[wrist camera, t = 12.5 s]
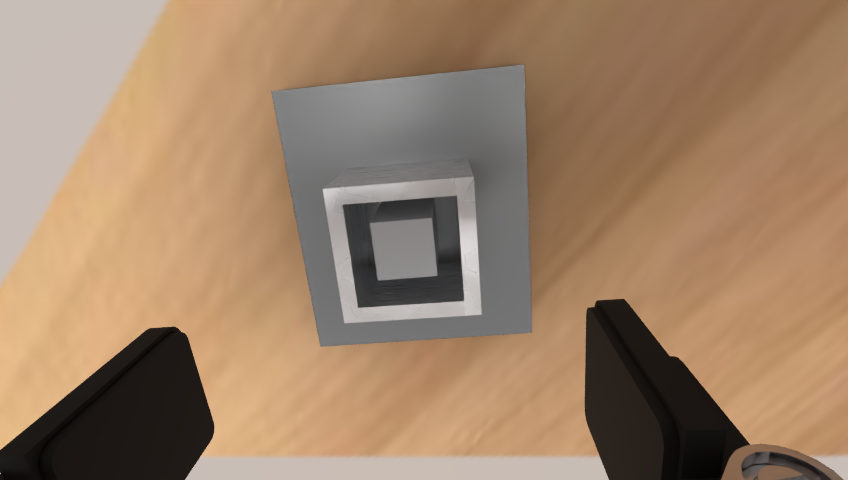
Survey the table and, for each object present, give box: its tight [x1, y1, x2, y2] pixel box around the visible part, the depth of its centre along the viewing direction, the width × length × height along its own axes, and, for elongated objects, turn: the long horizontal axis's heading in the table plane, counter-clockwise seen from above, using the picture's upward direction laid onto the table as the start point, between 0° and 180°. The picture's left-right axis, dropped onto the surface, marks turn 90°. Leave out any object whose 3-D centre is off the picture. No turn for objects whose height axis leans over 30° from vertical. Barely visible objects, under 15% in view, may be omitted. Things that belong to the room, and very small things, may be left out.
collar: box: [323, 158, 482, 323], centre depth 21 cm, size 6×6×5 cm
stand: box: [271, 64, 532, 347], centre depth 22 cm, size 12×14×6 cm
